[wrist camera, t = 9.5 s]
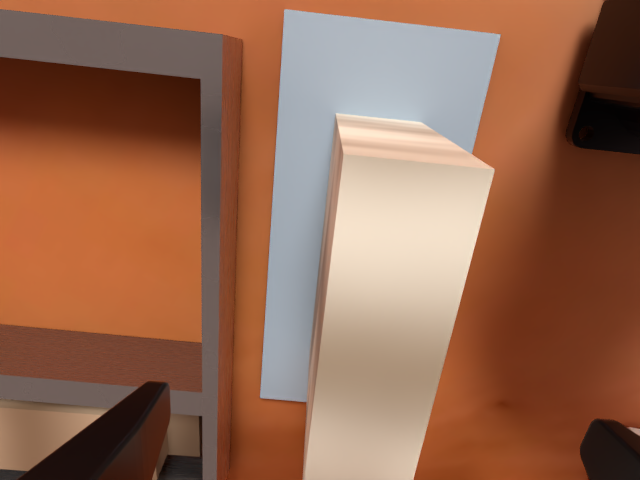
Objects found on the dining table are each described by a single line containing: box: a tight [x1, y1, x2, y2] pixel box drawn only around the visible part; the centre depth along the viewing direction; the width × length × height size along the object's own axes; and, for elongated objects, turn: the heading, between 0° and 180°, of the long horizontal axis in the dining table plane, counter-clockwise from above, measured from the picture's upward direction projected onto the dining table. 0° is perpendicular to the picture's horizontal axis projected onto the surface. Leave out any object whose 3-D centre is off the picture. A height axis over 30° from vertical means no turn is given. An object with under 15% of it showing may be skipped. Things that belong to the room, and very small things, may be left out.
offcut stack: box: [0, 399, 202, 480], centre depth 20 cm, size 11×4×3 cm, turn 85°
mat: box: [260, 9, 501, 402], centre depth 17 cm, size 7×16×1 cm, turn 174°
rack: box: [0, 9, 242, 480], centre depth 17 cm, size 14×20×3 cm
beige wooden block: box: [303, 113, 495, 480], centre depth 14 cm, size 10×3×7 cm, turn 174°
